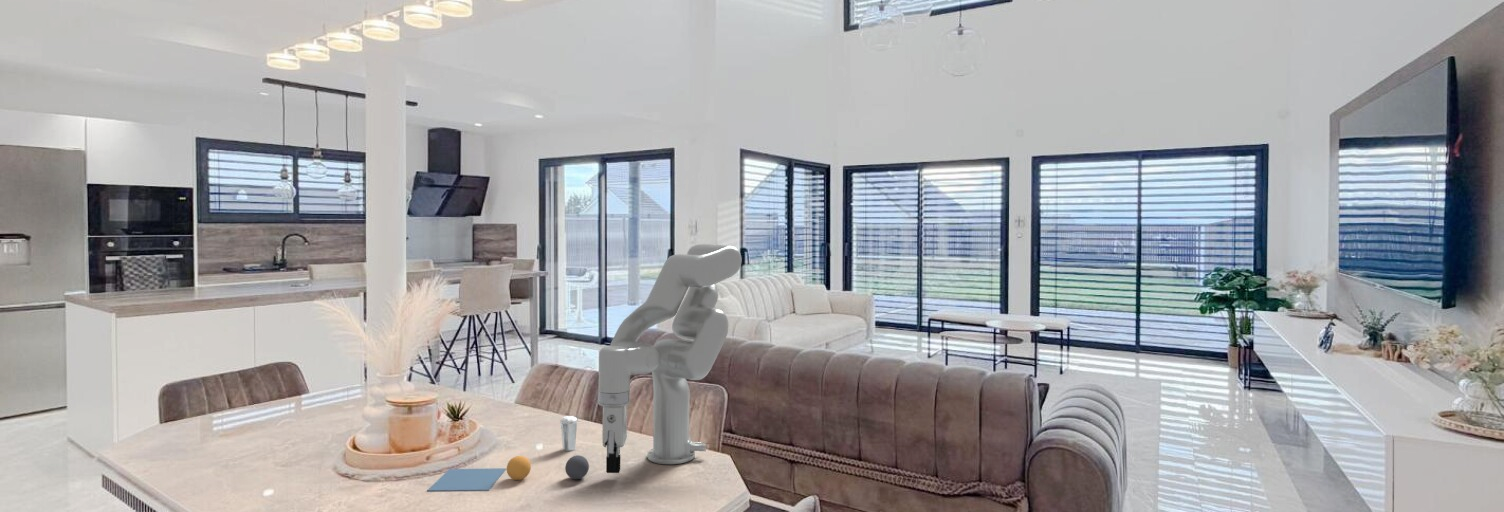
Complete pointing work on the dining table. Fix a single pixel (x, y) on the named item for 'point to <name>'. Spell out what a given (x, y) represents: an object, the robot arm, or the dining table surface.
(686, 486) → the dining table surface
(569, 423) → the milkshake
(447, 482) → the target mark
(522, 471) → the object ball
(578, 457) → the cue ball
